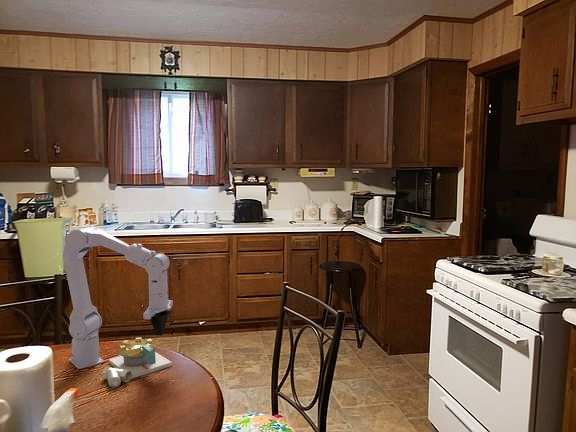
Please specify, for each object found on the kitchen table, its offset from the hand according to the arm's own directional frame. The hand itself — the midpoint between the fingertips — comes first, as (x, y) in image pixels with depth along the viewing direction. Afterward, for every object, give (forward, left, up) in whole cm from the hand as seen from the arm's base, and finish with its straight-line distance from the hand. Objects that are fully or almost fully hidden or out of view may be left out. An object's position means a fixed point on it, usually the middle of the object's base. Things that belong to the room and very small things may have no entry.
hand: (159, 334), depth 144 cm
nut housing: (-5, -5, -10) cm, 13 cm away
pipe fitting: (+1, -16, -11) cm, 19 cm away
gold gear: (-1, -5, -6) cm, 8 cm away
